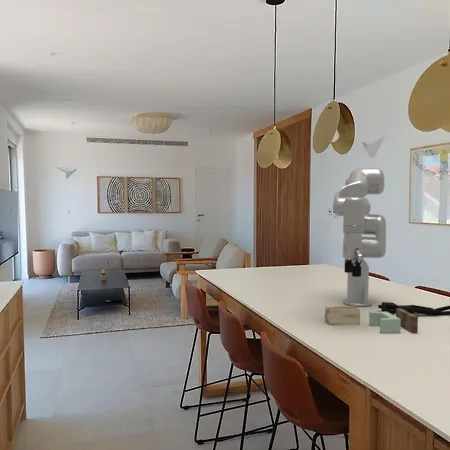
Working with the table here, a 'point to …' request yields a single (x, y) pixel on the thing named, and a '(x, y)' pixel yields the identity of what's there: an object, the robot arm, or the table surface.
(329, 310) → the beige wooden brick
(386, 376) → the table surface
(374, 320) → the block
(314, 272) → the table surface
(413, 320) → the board
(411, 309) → the toy
